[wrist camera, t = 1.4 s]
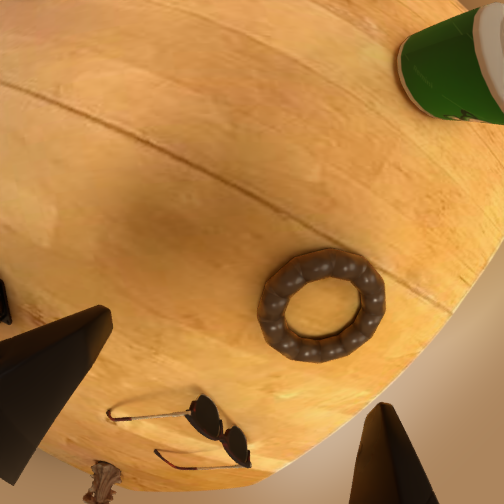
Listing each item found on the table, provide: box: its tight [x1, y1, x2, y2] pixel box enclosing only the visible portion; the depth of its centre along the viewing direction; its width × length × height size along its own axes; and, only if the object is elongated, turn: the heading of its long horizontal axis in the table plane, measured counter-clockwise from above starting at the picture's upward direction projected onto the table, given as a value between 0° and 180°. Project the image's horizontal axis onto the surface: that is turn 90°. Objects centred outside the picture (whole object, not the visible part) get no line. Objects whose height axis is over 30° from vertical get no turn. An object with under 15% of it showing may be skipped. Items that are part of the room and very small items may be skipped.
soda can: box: [397, 2, 504, 125], centre depth 12 cm, size 8×8×12 cm
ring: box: [257, 248, 386, 363], centre depth 25 cm, size 11×11×2 cm
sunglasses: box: [106, 394, 252, 470], centre depth 32 cm, size 14×16×5 cm
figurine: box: [83, 461, 121, 504], centre depth 35 cm, size 7×6×15 cm
